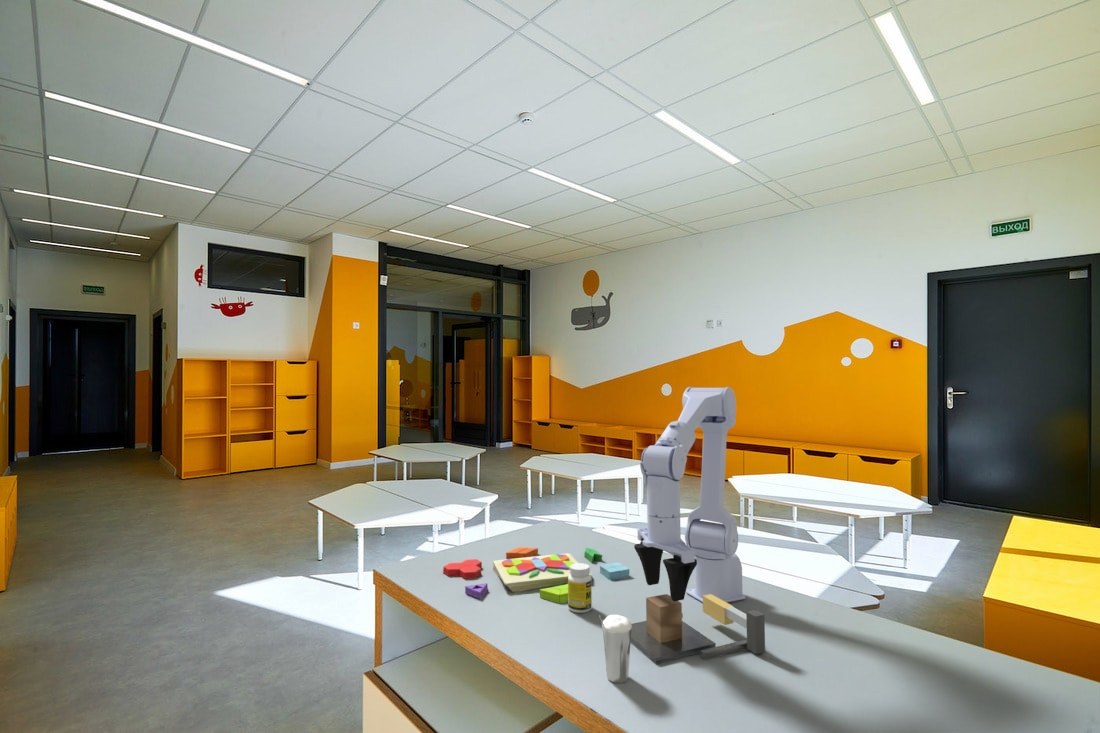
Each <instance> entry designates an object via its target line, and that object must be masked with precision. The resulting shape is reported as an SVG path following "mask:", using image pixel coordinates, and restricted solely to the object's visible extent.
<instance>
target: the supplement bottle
mask: <svg viewBox="0 0 1100 733" xmlns="http://www.w3.org/2000/svg"><path fill="white" fill-rule="evenodd" d="M590 567H591V566H590V565H589V564H587V563H582V562H581V563H580V562H578V563H576V564H572V565H570V575H569V577H568V583H567V584H568V601H567V604H568V605H567V607H568V610H569V611H571V612H573V613H578V614H583V613H588V612H590V611H591V610H592V607H593V606H592V603H593V602H592V600H593V599H592V579H591V576H590V575H589V574H591V570H590Z"/></svg>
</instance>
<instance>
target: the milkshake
mask: <svg viewBox="0 0 1100 733" xmlns="http://www.w3.org/2000/svg"><path fill="white" fill-rule="evenodd" d="M598 617H599V620H600V622H601V626H602V627H601V628H602V635H603V644H604V646H603V647H604V656H605V668H606V669H605V670H606V677H607V680H608V681H609V682H612V683H614V684H615V683H616V684H622V683H626V682H627V681H628V679H629V671H630V670H629V669H630V657H631V656H630V655H631V630H632V624H633V623H632V622H631V621H630V619H628V617H626V616H622V615H621V614H620V615H619V614H610V615H608V616H606V617H605V618H604V619H602V618H601V615H598Z"/></svg>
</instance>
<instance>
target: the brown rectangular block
mask: <svg viewBox="0 0 1100 733" xmlns="http://www.w3.org/2000/svg"><path fill="white" fill-rule="evenodd" d="M645 604H646V605H645V611H646V616H645V618H646V619H645V621H646V624H647V633H649V634H650V635H651V636H652V637H654V638H655V639H656V640H657V641H659V642H660V643H663V642H667V641H672V640H676V639H681V638H682V621H683V617H684V614H683V610H682V609H683V606H682V604H683V603H682V601H680V600H679V601H673V600H672V599H671V594H668V593H664V594H660V595H654V596H650V597H645Z"/></svg>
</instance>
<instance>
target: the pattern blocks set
mask: <svg viewBox="0 0 1100 733" xmlns="http://www.w3.org/2000/svg"><path fill="white" fill-rule="evenodd" d="M505 554H506V555H505V558H506V559H497V560H493V565H492V571H494V573H495V574H496V575H497V577H499V579H500V580H501V581H502V583H503V584H504V586H506V587H507V588H508V589H509V590H510V591H511V592H513V593H518V592H523V591H530V590H531V591H532V590H535V589H539V592H538V593H539V598H540V599H544V600H547V601H551V602H553V603H554V602H555V603H558V604H561V603H566V602H567V603H568V577H569V575H570V565H572V564H576V563H579V562H578V560H576V558H575V557H574V556H573V555H572V554H571V553H569V552H568V553H567V552H566V553H557V554H547V555H546V554H545V555H538V554H539V548H538V547H519V546H518V547H516V548H514V549H512V550H508V551H507V552H506V553H505ZM583 554H584V558H585V559H586V560H587V561H588V562H589V563H590V564H593V563H594V561H597V562H600V563H603V554H602V553H600V552H598V551H597V550H595V549H594V548H589V547H585V551H584V553H583ZM482 565H483V563H482V560H479V559H478V558H473V559H464V560H463V561H461V562H449V563H448V564H446V565H444V566H443V570H442V574H444V575H446V576H448V577H453V576H460V577H461V578H463V579H465V580H467V579H468V580H469V579H470V580H471V579H477V578H478V577H480V576H481V575H482V568H483V566H482ZM599 570H600V571H599V574H601V575H602V576H604V577H605V578H606V579H607V580H609V581H612V580H618V579H625V578H630V568H629V567H627V566H626V565H624V564H622V563H621V562H612V563H607V564H606V563H604V564H601V565H599ZM589 575H590V576H591V580H593V574H592V573H590V574H589ZM464 588H465V590H464V592H465V595H469V596H471V597H474V598H476V599H478V600H482V598H483V597H484V596H485V595H487V593H488V592H489V589H488V588H489V587H488V583H479V584H471V585H465V586H464Z"/></svg>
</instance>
